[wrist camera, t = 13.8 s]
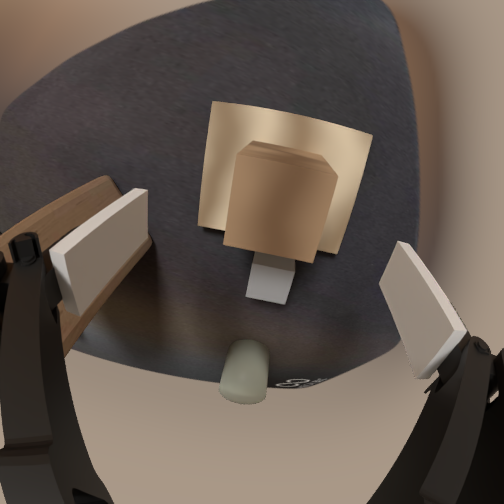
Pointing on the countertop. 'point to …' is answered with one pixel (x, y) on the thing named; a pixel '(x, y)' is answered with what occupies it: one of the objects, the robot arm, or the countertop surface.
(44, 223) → the block
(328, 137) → the board
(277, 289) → the slate cube
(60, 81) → the countertop surface
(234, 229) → the walnut block
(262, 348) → the pale green rounded cylinder
